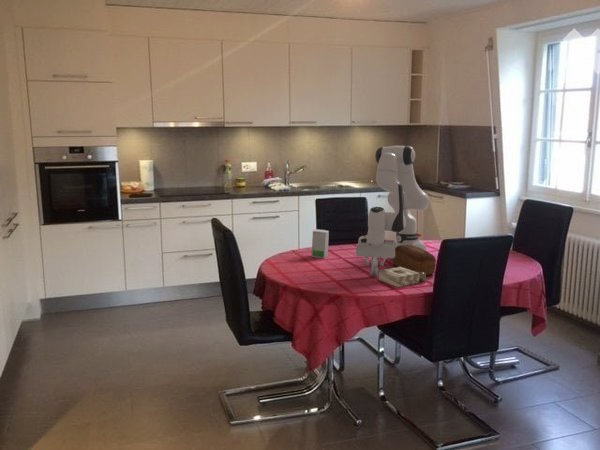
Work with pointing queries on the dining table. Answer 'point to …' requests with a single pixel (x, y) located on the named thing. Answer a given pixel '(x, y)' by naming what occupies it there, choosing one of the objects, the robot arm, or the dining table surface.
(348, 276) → the dining table surface
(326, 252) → the skincare box
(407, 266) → the bread
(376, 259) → the tall steel pin
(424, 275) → the short bronze pin
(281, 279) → the dining table surface
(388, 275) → the birch block
